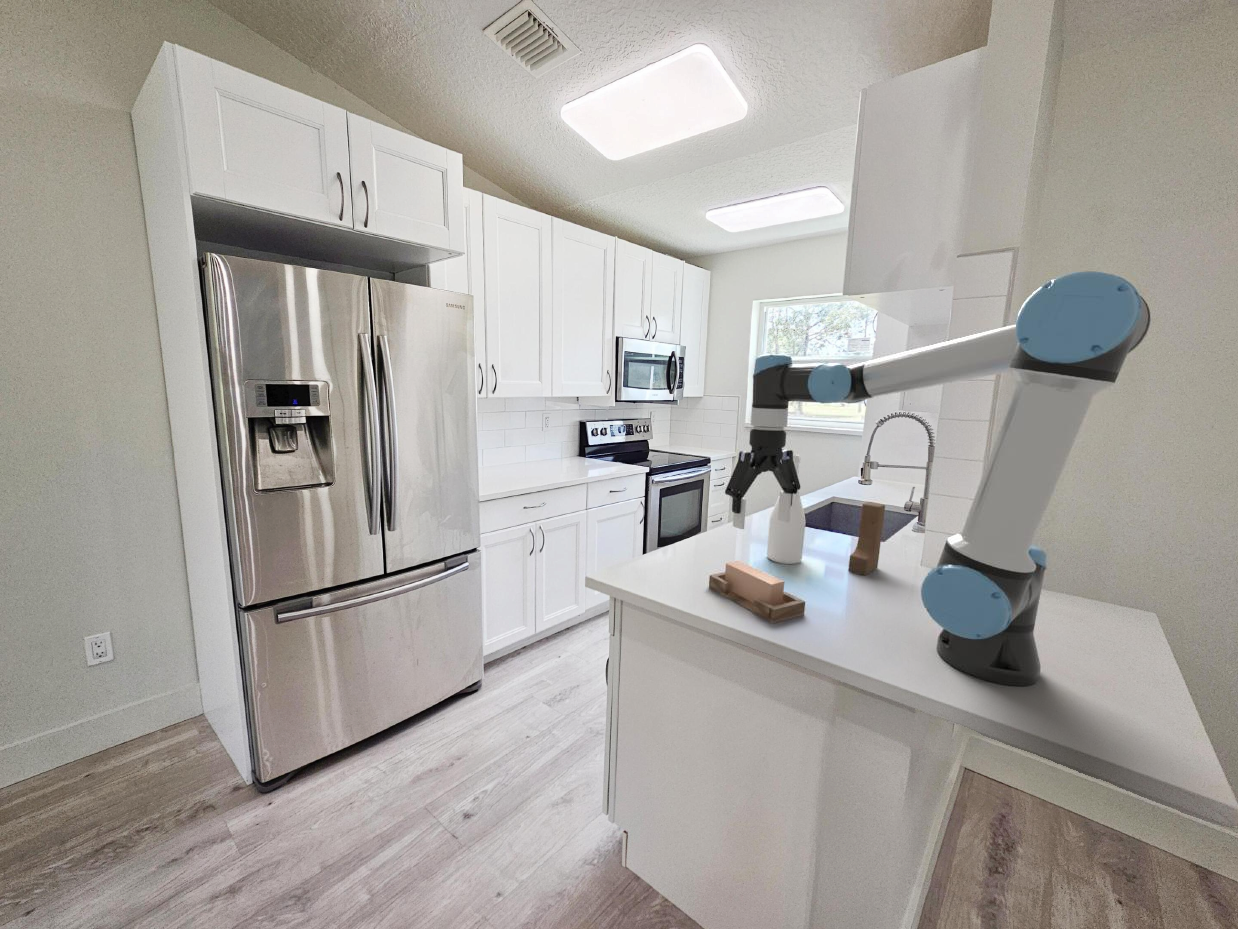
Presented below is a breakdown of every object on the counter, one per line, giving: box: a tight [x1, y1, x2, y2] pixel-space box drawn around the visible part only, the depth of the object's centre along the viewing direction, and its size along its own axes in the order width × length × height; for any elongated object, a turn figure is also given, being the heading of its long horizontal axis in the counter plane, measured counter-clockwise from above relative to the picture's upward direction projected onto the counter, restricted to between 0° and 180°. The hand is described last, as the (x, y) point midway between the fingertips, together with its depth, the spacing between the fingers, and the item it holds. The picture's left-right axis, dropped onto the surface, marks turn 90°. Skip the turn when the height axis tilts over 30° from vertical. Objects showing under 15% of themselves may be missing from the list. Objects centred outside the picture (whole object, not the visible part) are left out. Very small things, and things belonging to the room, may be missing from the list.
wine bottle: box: [766, 453, 807, 565], centre depth 140 cm, size 10×10×30 cm
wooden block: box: [848, 501, 886, 576], centre depth 135 cm, size 9×4×18 cm, turn 133°
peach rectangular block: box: [724, 560, 785, 606], centre depth 114 cm, size 14×4×6 cm, turn 31°
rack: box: [708, 571, 806, 624], centre depth 114 cm, size 20×9×3 cm, turn 29°
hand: (761, 524), depth 111 cm, fingers open, 13 cm apart
